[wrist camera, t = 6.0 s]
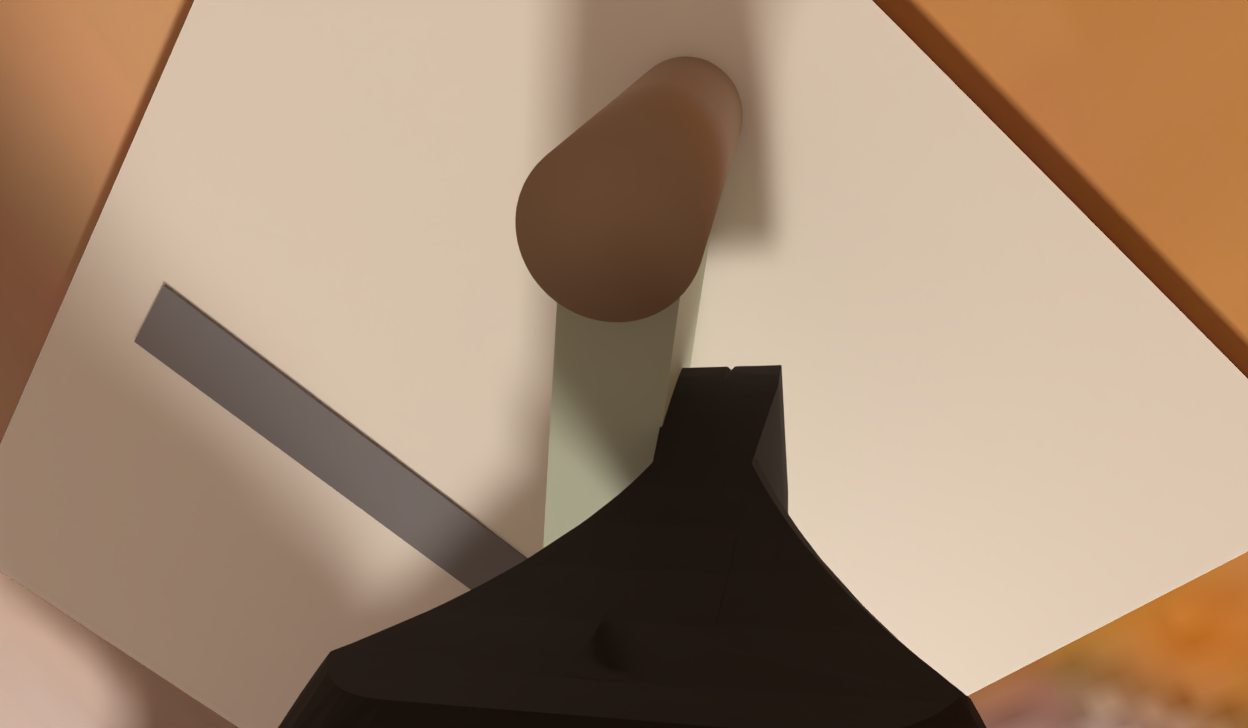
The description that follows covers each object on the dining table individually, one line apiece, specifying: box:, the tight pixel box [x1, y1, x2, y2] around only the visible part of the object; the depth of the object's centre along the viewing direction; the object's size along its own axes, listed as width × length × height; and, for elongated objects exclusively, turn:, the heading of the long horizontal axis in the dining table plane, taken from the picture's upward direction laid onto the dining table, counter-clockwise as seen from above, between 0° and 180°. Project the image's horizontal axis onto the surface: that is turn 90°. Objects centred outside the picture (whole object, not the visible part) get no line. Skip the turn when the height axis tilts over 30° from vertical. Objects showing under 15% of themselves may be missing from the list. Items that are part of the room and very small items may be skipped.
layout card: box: [0, 0, 1248, 728], centre depth 16 cm, size 22×18×1 cm
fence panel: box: [515, 56, 742, 548], centre depth 11 cm, size 11×2×5 cm, turn 175°
